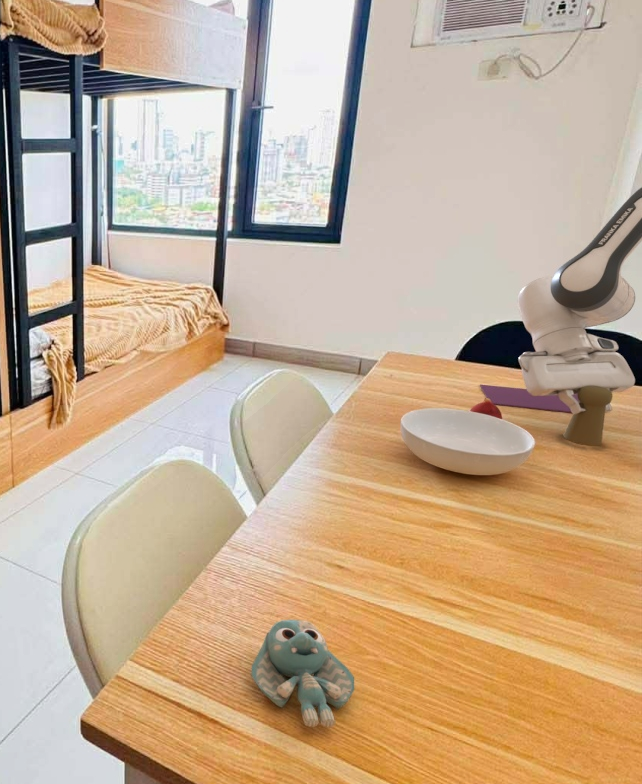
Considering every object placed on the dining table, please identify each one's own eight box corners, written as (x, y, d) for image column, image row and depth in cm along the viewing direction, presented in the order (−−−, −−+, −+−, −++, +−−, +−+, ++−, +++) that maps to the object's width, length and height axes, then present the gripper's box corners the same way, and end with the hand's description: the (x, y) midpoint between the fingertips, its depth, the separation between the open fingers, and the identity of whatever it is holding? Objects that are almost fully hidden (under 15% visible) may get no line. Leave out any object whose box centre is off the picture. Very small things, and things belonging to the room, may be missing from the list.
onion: (496, 432, 129) (505, 396, 126) (498, 443, 124) (507, 405, 121) (463, 427, 132) (471, 391, 129) (464, 437, 127) (472, 400, 124)
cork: (567, 430, 129) (582, 380, 125) (605, 439, 125) (621, 387, 121) (559, 438, 126) (573, 387, 122) (597, 448, 121) (613, 394, 117)
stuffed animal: (271, 698, 59) (244, 597, 69) (260, 741, 63) (236, 640, 73) (387, 701, 59) (342, 599, 69) (370, 744, 62) (330, 641, 73)
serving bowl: (370, 453, 121) (376, 420, 118) (438, 432, 130) (445, 401, 127) (481, 500, 103) (490, 463, 101) (551, 472, 112) (561, 437, 110)
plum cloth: (578, 395, 148) (579, 394, 148) (598, 415, 136) (599, 414, 136) (479, 385, 156) (479, 384, 156) (490, 404, 144) (490, 402, 144)
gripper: (526, 344, 125) (554, 408, 119) (624, 341, 126) (656, 403, 120) (505, 359, 131) (530, 420, 125) (598, 356, 132) (627, 416, 126)
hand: (593, 412), depth 122 cm, fingers closed on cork, 4 cm apart
